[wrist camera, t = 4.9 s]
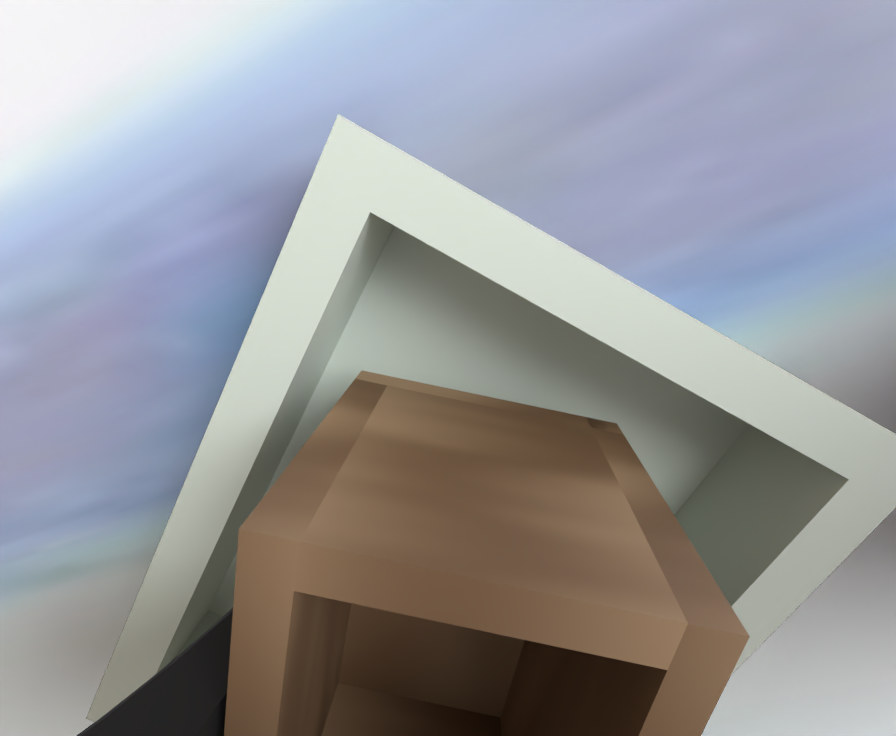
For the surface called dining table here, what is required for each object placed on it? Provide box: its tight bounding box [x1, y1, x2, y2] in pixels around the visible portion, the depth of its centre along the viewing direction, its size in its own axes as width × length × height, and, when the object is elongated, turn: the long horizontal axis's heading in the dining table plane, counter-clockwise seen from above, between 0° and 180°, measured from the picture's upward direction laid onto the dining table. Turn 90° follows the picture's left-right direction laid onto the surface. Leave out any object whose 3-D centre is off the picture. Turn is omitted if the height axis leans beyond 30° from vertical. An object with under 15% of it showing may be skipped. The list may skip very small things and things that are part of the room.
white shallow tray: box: [86, 114, 896, 722], centre depth 11 cm, size 11×14×4 cm
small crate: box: [224, 371, 750, 736], centre depth 8 cm, size 5×8×5 cm, turn 169°
